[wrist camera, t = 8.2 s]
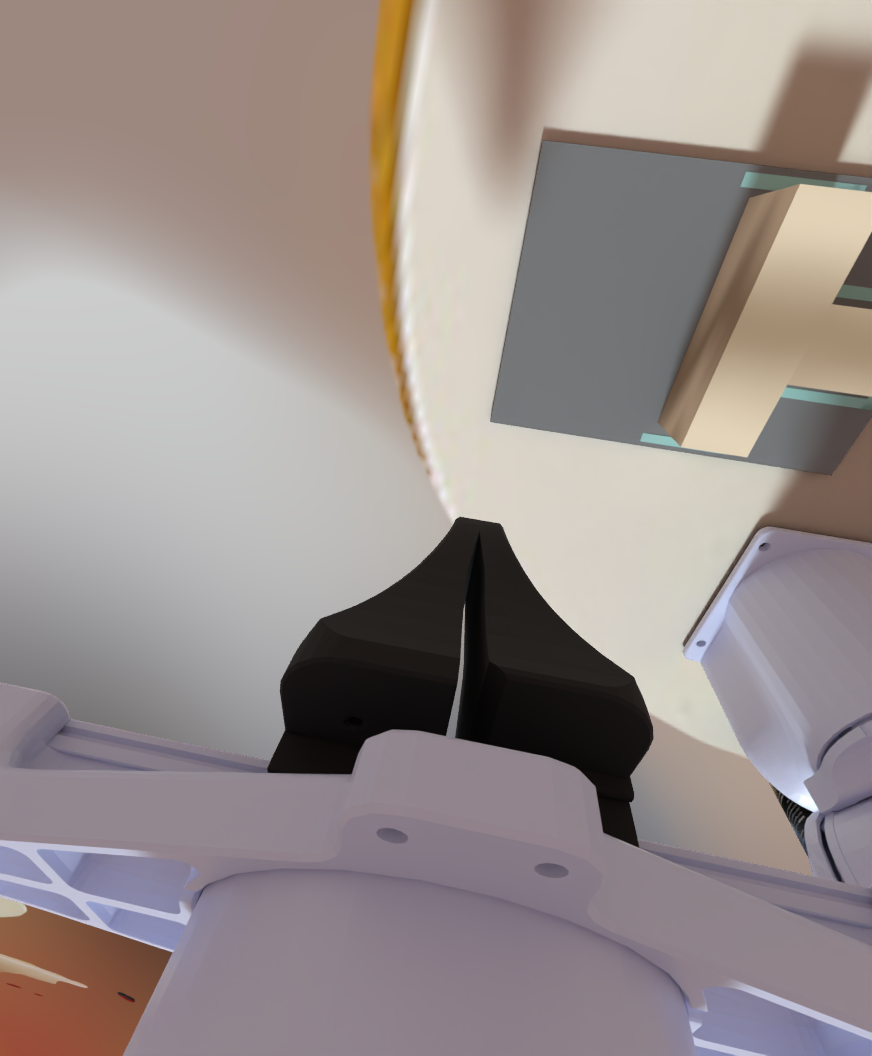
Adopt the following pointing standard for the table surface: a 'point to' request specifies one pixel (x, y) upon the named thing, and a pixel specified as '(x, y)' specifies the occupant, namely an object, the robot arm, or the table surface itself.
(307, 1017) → the robot arm
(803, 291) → the t block
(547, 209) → the mat
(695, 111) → the table surface
